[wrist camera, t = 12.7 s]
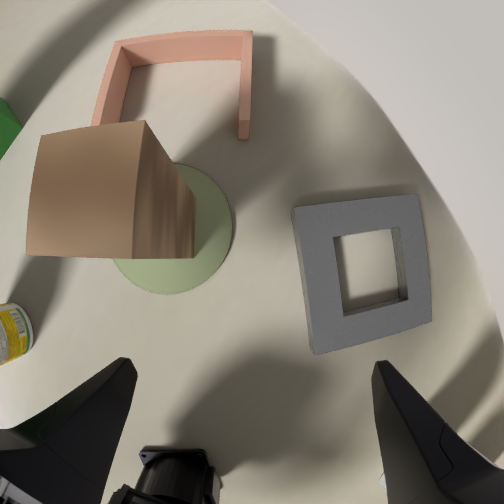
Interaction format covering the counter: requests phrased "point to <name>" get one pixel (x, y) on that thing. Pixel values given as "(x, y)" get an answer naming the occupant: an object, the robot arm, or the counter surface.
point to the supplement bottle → (14, 332)
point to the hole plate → (327, 280)
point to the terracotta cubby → (174, 50)
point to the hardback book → (7, 127)
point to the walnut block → (109, 196)
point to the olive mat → (205, 244)
